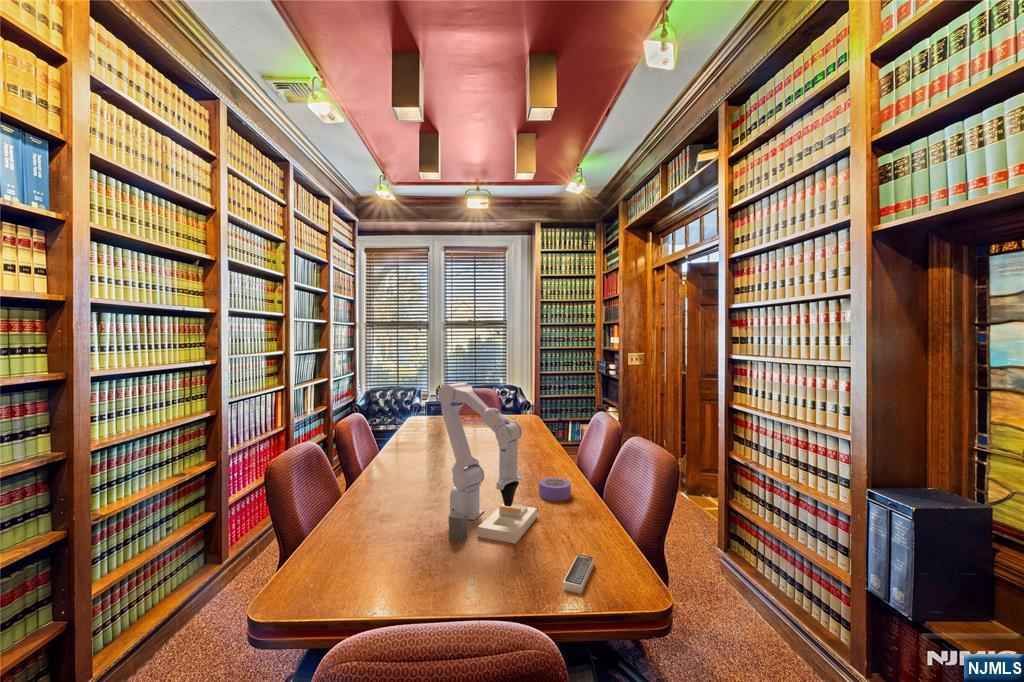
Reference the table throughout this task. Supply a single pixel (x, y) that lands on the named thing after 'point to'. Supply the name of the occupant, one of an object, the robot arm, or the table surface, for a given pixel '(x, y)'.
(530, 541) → the table surface
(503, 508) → the shutter
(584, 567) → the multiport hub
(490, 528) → the socket plate
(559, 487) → the tape roll
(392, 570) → the table surface
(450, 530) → the plug
